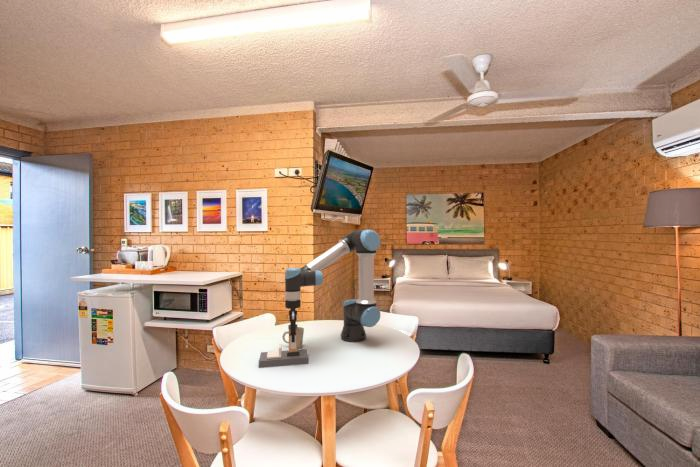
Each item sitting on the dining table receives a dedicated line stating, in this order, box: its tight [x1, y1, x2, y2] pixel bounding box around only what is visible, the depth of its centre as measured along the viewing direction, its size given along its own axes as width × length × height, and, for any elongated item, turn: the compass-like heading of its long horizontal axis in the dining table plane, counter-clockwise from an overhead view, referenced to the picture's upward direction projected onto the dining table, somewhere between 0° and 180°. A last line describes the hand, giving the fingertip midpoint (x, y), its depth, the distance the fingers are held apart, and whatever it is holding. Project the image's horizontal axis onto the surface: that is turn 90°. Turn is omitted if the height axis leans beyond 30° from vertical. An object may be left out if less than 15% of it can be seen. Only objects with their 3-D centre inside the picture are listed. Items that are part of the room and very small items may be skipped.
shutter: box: [267, 343, 283, 359], centre depth 159 cm, size 7×9×4 cm
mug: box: [282, 326, 305, 350], centre depth 180 cm, size 8×13×10 cm, turn 78°
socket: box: [258, 348, 309, 369], centre depth 160 cm, size 23×12×3 cm, turn 101°
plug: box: [287, 324, 298, 352], centre depth 161 cm, size 4×4×12 cm
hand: (293, 346), depth 161 cm, fingers closed on plug, 4 cm apart
